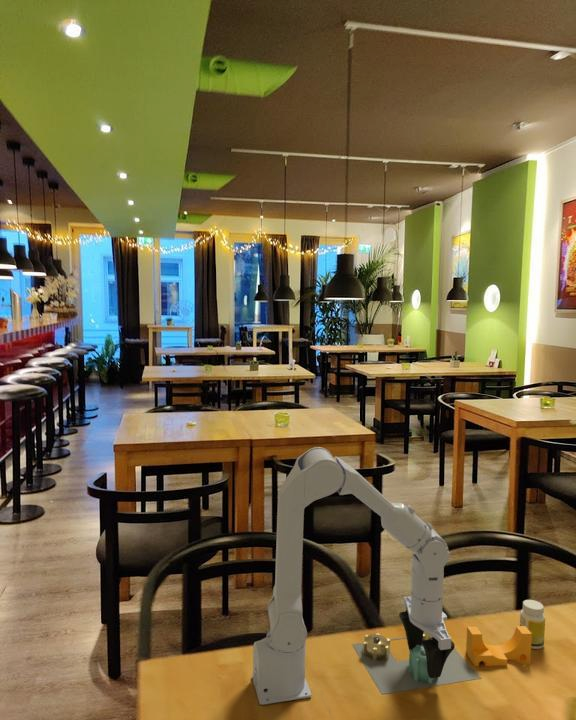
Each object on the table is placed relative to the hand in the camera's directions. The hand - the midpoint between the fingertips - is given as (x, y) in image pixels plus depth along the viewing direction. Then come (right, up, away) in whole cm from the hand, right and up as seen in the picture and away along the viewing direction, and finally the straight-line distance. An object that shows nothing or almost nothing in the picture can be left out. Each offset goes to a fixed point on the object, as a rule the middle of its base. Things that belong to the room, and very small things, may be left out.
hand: (424, 663), depth 101 cm
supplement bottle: (+26, -3, +12) cm, 29 cm away
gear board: (-1, -3, +4) cm, 5 cm away
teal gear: (0, -2, 0) cm, 2 cm away
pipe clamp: (+16, -3, +5) cm, 17 cm away
